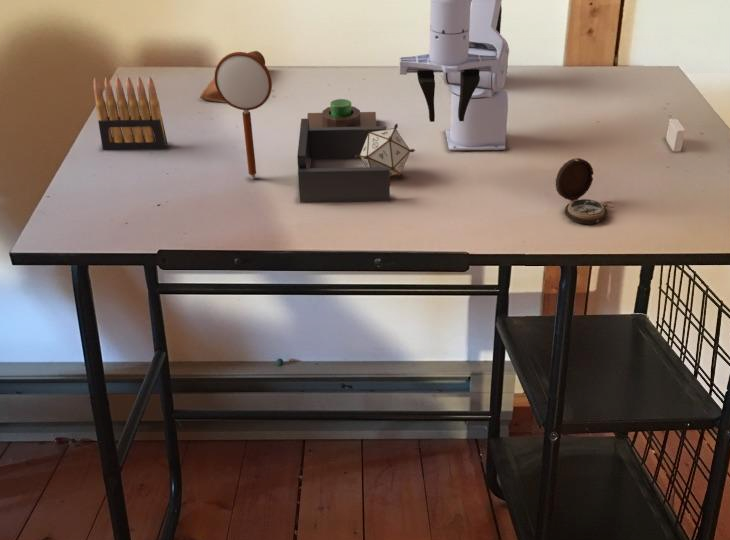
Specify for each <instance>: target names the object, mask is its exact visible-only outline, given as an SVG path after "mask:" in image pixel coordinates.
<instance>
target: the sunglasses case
mask: <svg viewBox="0 0 730 540" xmlns="http://www.w3.org/2000/svg"><path fill="white" fill-rule="evenodd" d="M248 53H249V54H252V55H254V56H255V57H257V58H258V59H260V60H261V61H262V62H263V63H264V64H265V65H266V59H265V57H264V55H263V54H262V53H261V52H260V51H258V50H254V51H249V52H248ZM199 98H200V99H202V100H204V101H205V100H206V101H210V102H215V103H222V104H228V103H227V102H225V101H224V100H223V99H222V97H221V96H220V94H219V93H218V91H217V89H216V85H215V79H214V77H213V78H212V80H210V82H209V83H208V84H207V86H206V87H205V88H204V89H203V90H202V92H201V93H200V96H199Z"/></svg>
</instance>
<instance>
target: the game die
mask: <svg viewBox="0 0 730 540" xmlns="http://www.w3.org/2000/svg"><path fill="white" fill-rule="evenodd" d="M398 127H399V125H398V123H395V124H394V125H393V128H387V129H386V130H379V131H372V132H370V131H369V130H368V129H367V128H365V130H366V132H367V133H368V135H367V137H366V140H365V143H364V145H363V148H362V150H361V153H360V155H356V156H354V157H356V158H355V159H360V160H361V161H362V162H363V164H364V165H365V167H389V169H390V177H393V176H399V177H400V178H401V179H404V174H403V173H402V172H403V169H404V167H405V165H406V162H407V160H408V158H409V155H410V153H414V152H415V151H416V149H414V148H411V149H410V147H409V146H408V144H406V142H405V140H404V139H403V138H402V136H401V135H400V133H399V132H398V130H397V129H398ZM359 157H360V158H359Z"/></svg>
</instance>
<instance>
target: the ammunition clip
mask: <svg viewBox="0 0 730 540" xmlns="http://www.w3.org/2000/svg"><path fill="white" fill-rule="evenodd" d="M136 82H137V83H136V88H137V90H136V91H137V95H136V91H135V87H134V84H133V82H132V79H131V78H130V77H129V76H127V77H126V85H125V86H126V93H127V95H126V94H125V90H124V87H123V83H122V81H121V79H120V78H119V76H116V79H115V93H116V98H115V94H114V91H113V87H112V83H111V82H110V80H109V78H108V77H107V76H106V77H104V92H105V93H104V94H105V97H104V94H103V91H102V87H101V84H100V82H99V80H98V78H97V77H96V76H94V78H93V94H94V101H95V110H96V114H97V119H98V121H97V122H98V129H99V134H100V135H99V136H100V142H101V149H102V150H103V151H121V150H122V151H130V150H132V151H133V150H140V151H141V150H166V149H167V148H168V139H167V135H166V129H165V126H164V121H163V116H162V112H161V105H160V101H159V98H158V94H157V89H156V86H155V82H154V80H153V78H152V77H151V76H149V77H148V79H147V91H148V96H147V93H146V88H145V85H144V82H143V79H142V78H141V76H138V77H137V81H136ZM126 96H127V98H126ZM137 97H138V99H137ZM147 97H148V98H147ZM104 98H105V99H104ZM116 99H117V100H116Z"/></svg>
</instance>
